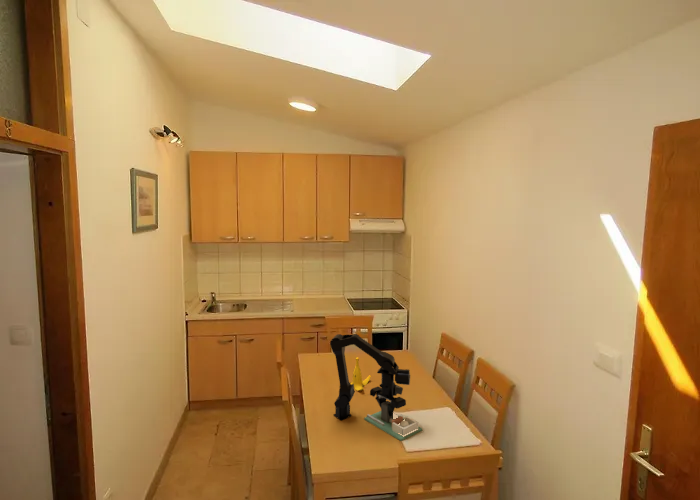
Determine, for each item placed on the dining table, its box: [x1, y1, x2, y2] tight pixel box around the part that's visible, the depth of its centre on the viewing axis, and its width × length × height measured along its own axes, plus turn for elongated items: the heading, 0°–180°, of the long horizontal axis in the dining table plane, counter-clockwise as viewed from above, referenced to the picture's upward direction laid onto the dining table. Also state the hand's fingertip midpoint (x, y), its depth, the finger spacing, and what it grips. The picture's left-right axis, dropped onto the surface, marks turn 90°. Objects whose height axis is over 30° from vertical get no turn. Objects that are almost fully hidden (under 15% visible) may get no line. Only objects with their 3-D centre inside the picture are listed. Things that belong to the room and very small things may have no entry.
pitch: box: [363, 410, 423, 442], centre depth 193 cm, size 14×24×4 cm, turn 39°
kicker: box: [380, 400, 404, 424], centre depth 193 cm, size 6×9×8 cm, turn 39°
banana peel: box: [350, 357, 372, 392], centre depth 236 cm, size 17×19×17 cm
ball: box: [400, 421, 409, 428], centre depth 187 cm, size 4×4×4 cm
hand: (387, 414), depth 195 cm, fingers closed on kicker, 4 cm apart
